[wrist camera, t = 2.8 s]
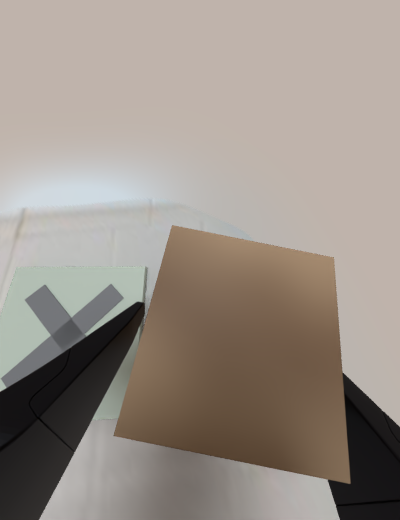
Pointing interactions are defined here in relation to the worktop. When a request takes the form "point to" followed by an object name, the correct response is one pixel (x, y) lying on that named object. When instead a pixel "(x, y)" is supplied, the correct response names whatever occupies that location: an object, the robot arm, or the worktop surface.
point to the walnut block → (241, 357)
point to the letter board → (66, 319)
